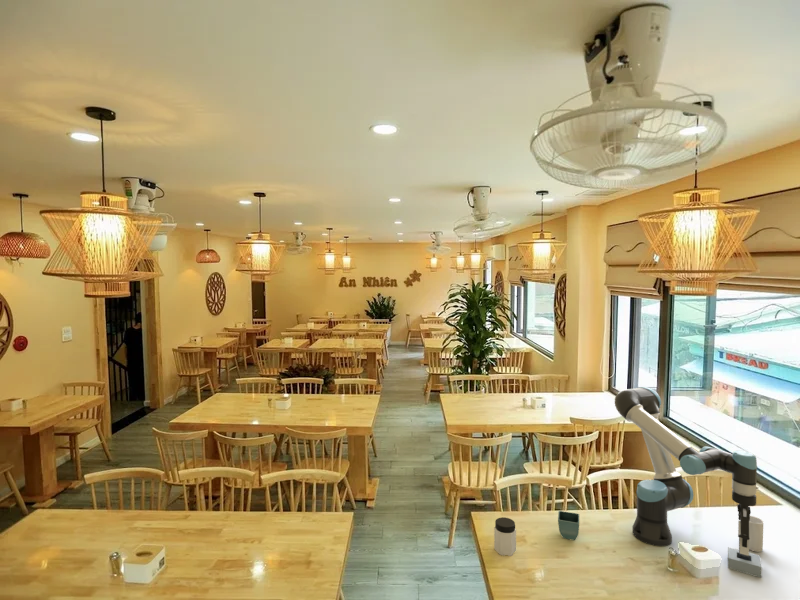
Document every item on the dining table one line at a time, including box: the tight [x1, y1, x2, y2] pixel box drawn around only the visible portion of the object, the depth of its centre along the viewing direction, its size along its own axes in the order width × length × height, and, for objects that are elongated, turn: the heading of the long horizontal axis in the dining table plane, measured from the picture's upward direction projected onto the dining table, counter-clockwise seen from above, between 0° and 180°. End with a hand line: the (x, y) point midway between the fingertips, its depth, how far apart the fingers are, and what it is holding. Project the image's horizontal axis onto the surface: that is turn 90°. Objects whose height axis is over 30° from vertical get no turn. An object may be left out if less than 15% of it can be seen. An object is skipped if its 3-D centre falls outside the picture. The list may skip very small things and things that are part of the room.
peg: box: [738, 534, 749, 561], centre depth 173 cm, size 3×3×12 cm
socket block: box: [727, 546, 762, 578], centre depth 173 cm, size 10×9×4 cm
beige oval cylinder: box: [749, 515, 764, 553], centre depth 187 cm, size 10×7×12 cm, turn 172°
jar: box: [493, 517, 517, 557], centre depth 185 cm, size 9×8×12 cm
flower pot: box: [557, 510, 580, 541], centre depth 195 cm, size 9×9×9 cm
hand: (743, 545), depth 173 cm, fingers open, 13 cm apart
